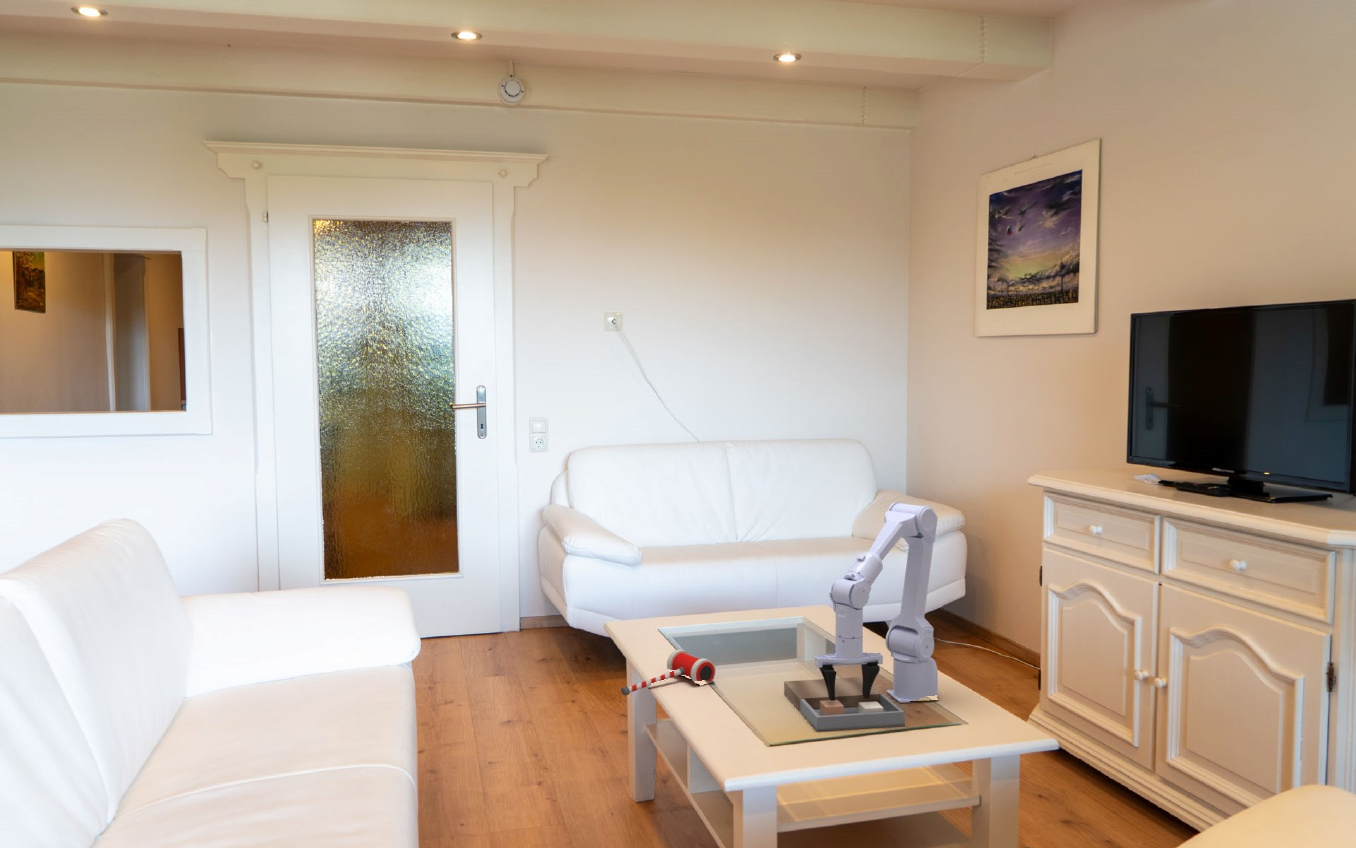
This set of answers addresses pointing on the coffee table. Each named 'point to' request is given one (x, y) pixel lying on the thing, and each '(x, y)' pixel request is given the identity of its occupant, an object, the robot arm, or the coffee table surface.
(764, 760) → the coffee table surface
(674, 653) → the toy hammer
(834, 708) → the terracotta pink block
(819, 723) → the box
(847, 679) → the dark wooden platform
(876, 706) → the tile cream
